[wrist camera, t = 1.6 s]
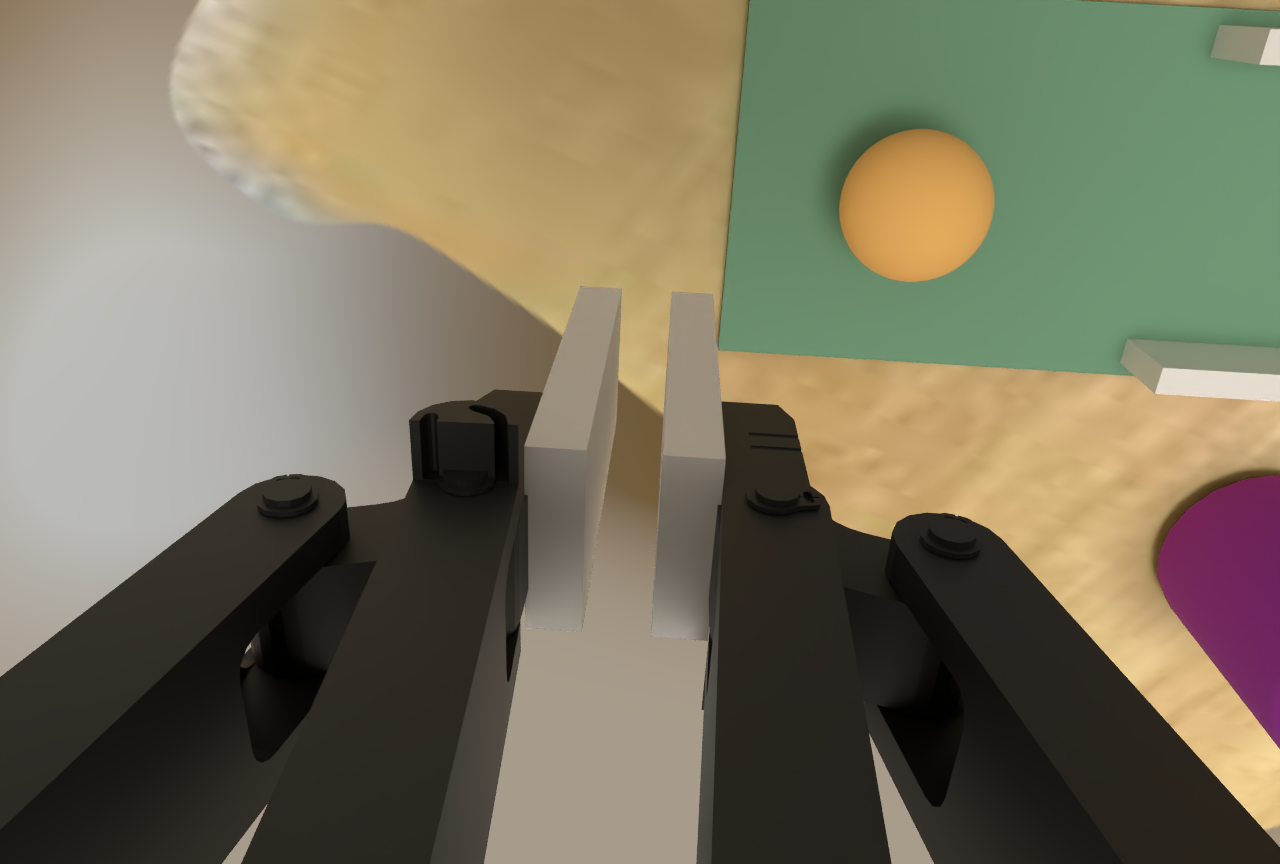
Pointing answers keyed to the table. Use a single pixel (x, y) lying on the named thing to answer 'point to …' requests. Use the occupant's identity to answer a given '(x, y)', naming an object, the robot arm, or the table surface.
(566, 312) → the table surface
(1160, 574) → the beverage can
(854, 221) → the orange ball
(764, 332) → the putting mat
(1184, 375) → the white u-shaped frame
